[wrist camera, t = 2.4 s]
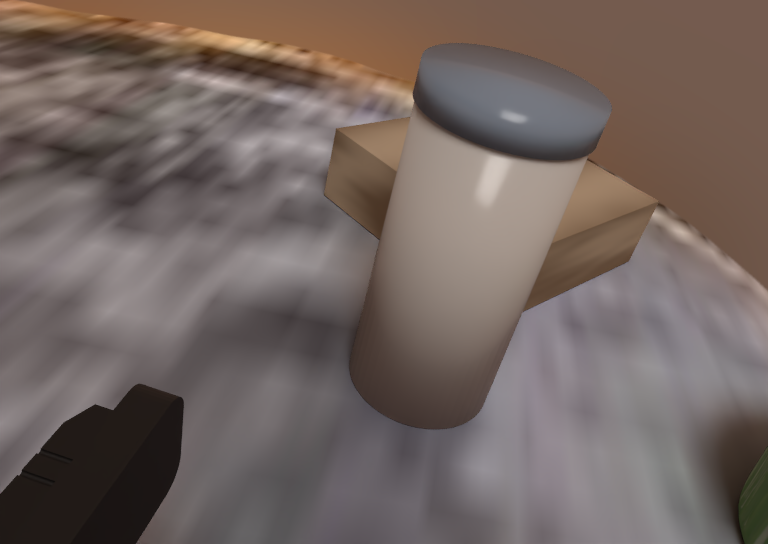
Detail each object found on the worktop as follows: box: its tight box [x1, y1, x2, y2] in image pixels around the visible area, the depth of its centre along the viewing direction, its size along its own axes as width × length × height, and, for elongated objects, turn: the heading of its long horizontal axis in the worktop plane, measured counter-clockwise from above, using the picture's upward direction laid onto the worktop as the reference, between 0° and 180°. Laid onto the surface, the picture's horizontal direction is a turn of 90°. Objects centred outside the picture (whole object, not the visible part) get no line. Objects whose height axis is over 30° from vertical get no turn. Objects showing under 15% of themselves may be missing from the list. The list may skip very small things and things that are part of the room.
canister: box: [349, 43, 612, 429], centre depth 21 cm, size 5×5×11 cm
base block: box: [324, 117, 659, 311], centre depth 33 cm, size 11×11×4 cm
